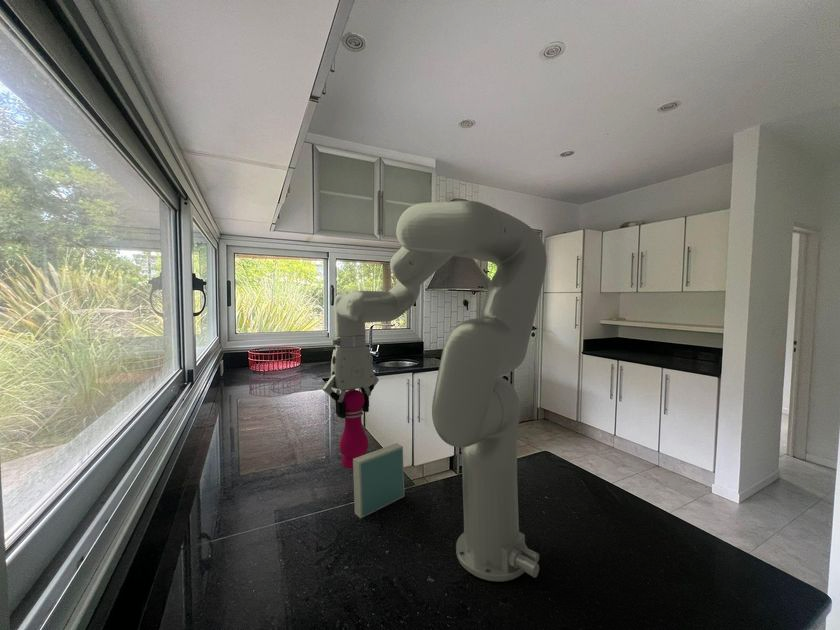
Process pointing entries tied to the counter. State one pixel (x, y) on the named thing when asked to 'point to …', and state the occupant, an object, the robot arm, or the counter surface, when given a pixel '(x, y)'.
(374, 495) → the glazed tile
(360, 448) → the pepper mill
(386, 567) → the counter surface
